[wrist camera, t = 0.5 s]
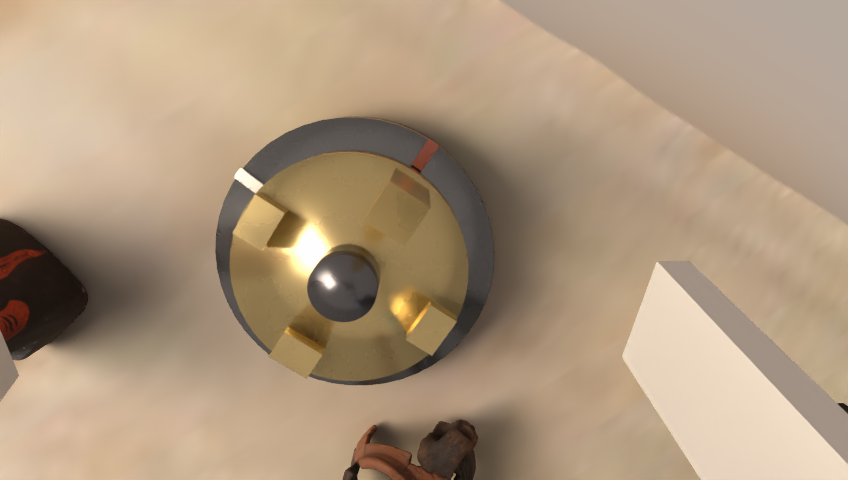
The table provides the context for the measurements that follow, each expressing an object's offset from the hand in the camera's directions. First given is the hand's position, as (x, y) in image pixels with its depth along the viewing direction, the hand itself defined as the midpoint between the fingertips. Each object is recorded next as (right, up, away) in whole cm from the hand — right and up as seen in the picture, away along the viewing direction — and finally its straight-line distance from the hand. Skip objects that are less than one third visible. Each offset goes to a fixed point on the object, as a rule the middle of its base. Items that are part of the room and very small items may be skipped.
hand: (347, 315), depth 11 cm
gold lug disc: (-3, 0, +25) cm, 25 cm away
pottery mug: (+1, -15, +32) cm, 36 cm away
